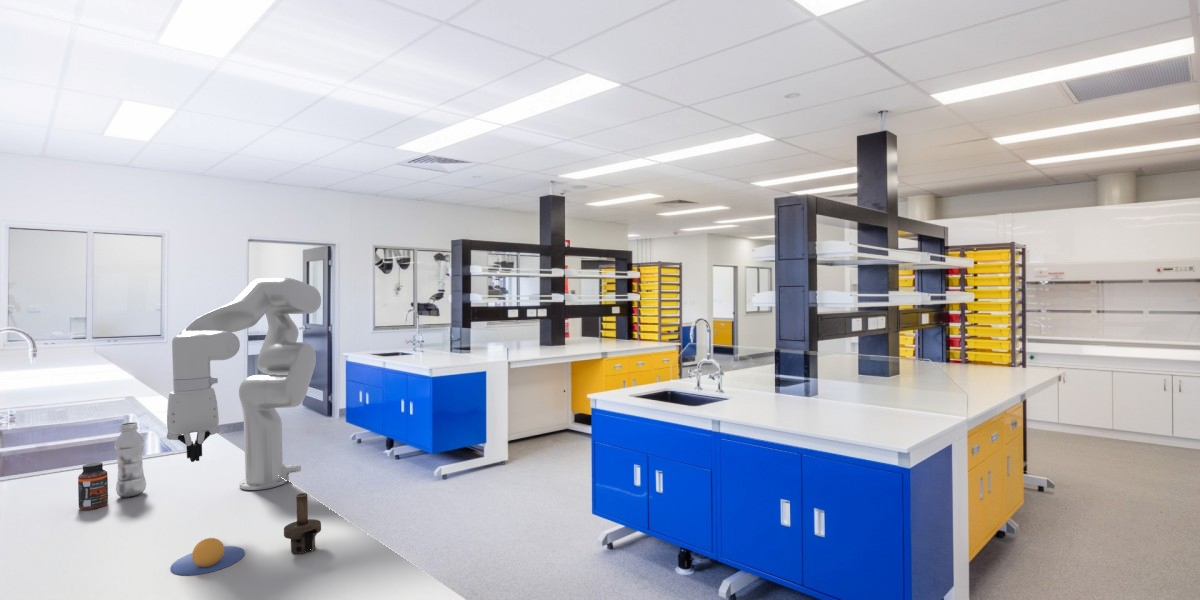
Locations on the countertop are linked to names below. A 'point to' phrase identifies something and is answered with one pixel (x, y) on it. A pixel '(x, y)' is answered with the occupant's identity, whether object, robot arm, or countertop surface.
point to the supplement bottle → (93, 486)
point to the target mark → (190, 568)
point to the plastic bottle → (130, 461)
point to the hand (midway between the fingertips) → (194, 460)
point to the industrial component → (302, 528)
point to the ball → (208, 552)
